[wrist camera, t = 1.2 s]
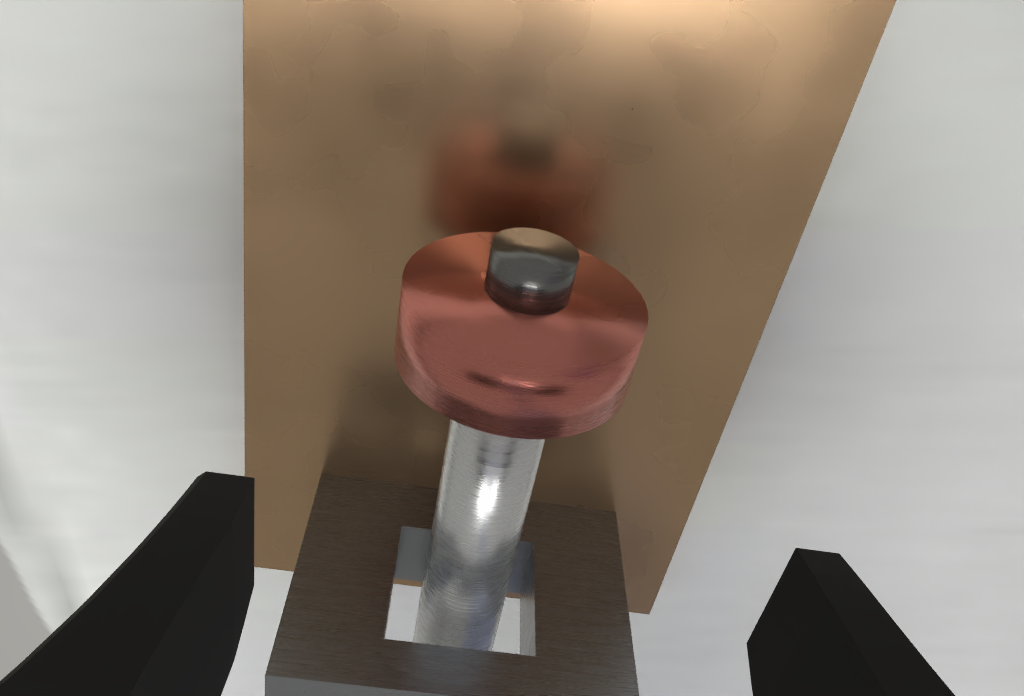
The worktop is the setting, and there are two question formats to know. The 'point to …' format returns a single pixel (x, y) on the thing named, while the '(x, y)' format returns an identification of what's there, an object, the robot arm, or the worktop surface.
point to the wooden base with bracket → (493, 208)
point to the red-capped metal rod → (504, 396)
